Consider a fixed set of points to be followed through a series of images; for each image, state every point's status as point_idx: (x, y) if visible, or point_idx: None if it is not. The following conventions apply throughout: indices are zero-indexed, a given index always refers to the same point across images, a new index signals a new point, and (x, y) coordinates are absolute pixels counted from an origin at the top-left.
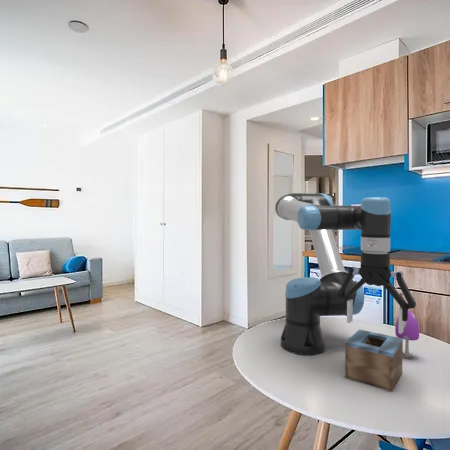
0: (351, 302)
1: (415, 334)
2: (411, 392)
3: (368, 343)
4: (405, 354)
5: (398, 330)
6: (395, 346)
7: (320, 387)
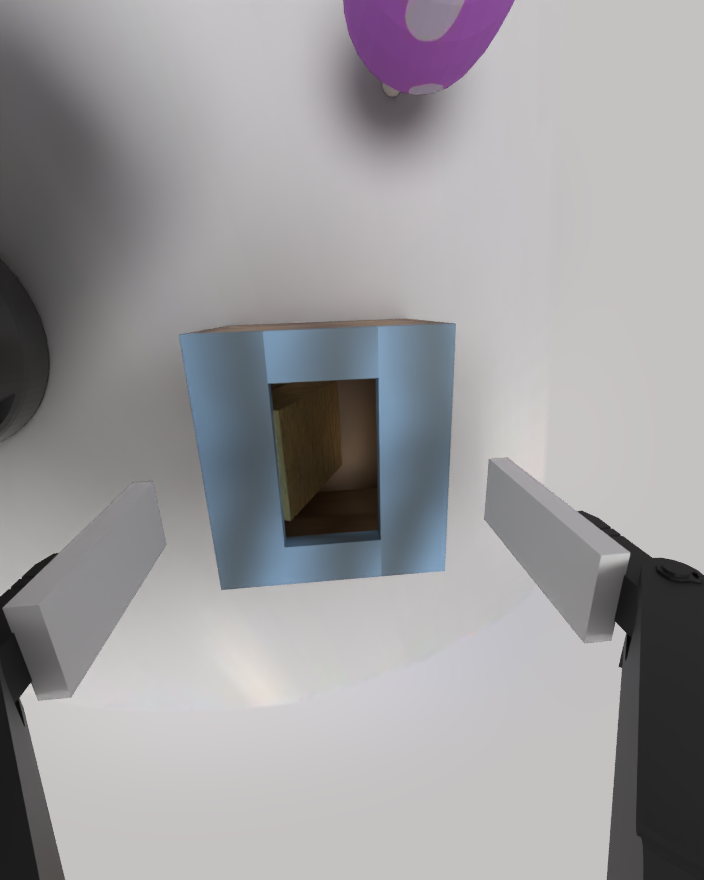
0: (70, 618)
1: (494, 36)
2: (455, 454)
3: (290, 439)
4: (388, 87)
5: (491, 527)
6: (441, 483)
7: (224, 606)
